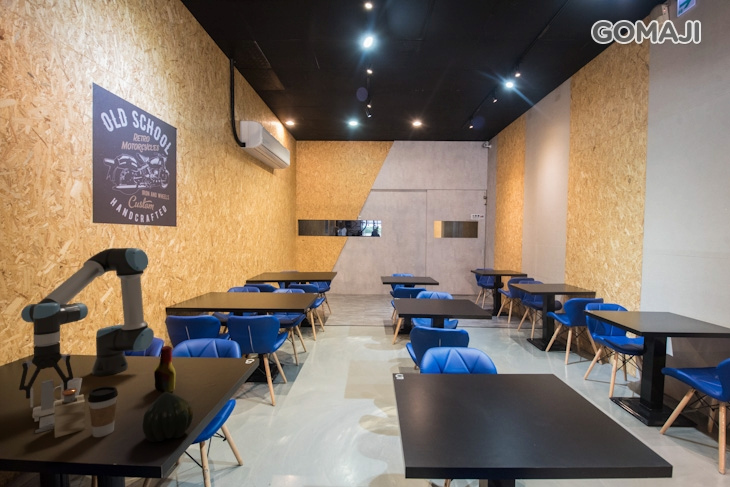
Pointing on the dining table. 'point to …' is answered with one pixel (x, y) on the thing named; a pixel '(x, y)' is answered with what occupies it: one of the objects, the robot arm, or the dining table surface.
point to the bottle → (165, 371)
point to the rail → (46, 423)
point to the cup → (73, 385)
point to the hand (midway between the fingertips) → (47, 402)
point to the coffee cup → (102, 410)
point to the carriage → (45, 400)
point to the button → (69, 395)
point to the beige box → (69, 416)
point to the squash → (167, 417)
